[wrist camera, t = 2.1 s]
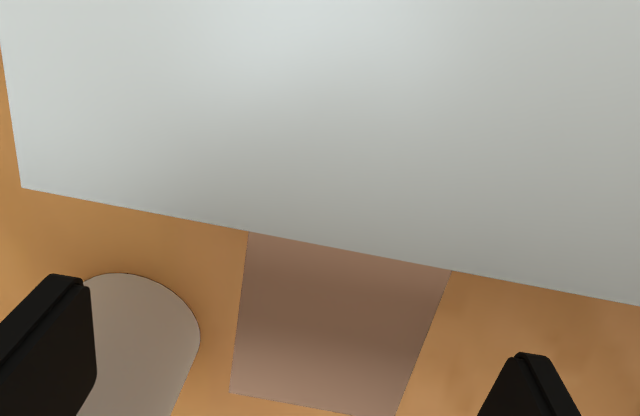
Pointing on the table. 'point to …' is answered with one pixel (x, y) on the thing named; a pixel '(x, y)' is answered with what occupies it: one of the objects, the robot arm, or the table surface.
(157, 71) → the lid
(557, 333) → the table surface
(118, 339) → the cylindrical container
